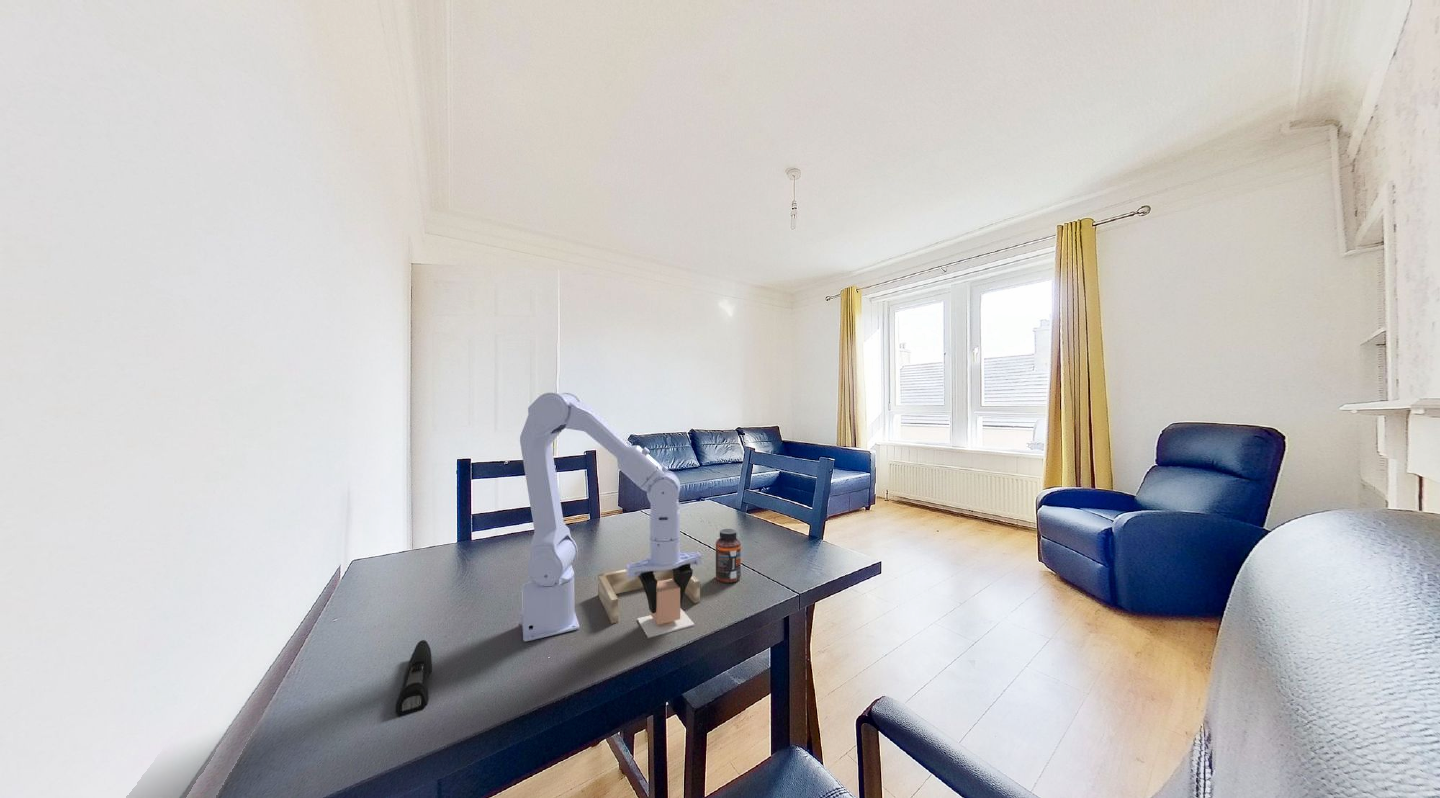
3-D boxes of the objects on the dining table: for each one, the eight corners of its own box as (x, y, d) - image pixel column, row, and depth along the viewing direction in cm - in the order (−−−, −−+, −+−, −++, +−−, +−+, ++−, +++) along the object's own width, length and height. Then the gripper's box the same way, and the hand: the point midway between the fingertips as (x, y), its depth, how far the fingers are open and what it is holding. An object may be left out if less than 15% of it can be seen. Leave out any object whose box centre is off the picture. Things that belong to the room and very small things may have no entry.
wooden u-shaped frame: (611, 623, 82) (611, 600, 82) (598, 595, 93) (598, 574, 93) (699, 602, 90) (699, 580, 90) (677, 578, 102) (677, 559, 102)
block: (657, 625, 79) (657, 592, 79) (650, 614, 83) (649, 583, 83) (680, 619, 81) (680, 587, 81) (671, 608, 85) (671, 578, 85)
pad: (648, 638, 77) (648, 636, 77) (637, 619, 83) (637, 618, 83) (694, 625, 81) (694, 624, 81) (680, 609, 87) (680, 607, 87)
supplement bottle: (741, 584, 99) (740, 535, 99) (715, 584, 99) (715, 535, 99) (740, 573, 105) (740, 527, 104) (716, 573, 105) (715, 527, 105)
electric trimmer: (436, 654, 73) (436, 635, 73) (428, 710, 60) (427, 687, 60) (409, 661, 71) (409, 642, 71) (394, 720, 58) (394, 697, 58)
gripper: (691, 525, 89) (692, 591, 89) (621, 536, 82) (622, 607, 82) (706, 535, 82) (706, 605, 82) (631, 548, 76) (632, 624, 76)
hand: (665, 607), depth 82 cm, fingers closed on block, 4 cm apart
